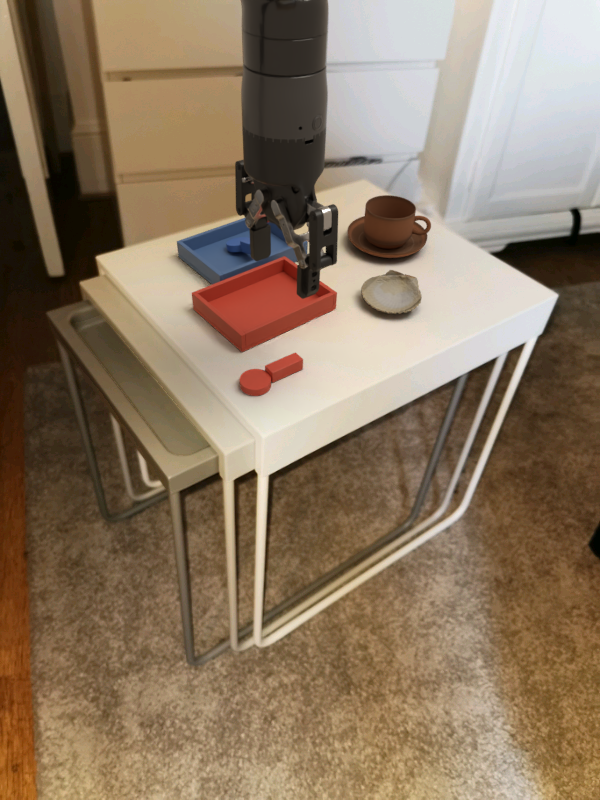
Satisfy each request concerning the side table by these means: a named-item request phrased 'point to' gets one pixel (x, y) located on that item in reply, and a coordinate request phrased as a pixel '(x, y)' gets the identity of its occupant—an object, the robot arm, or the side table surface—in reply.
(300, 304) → the red tray
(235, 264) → the blue tray
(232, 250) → the blue spoon
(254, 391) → the red spoon
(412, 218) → the cup and saucer
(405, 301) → the seashell
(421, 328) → the side table surface
